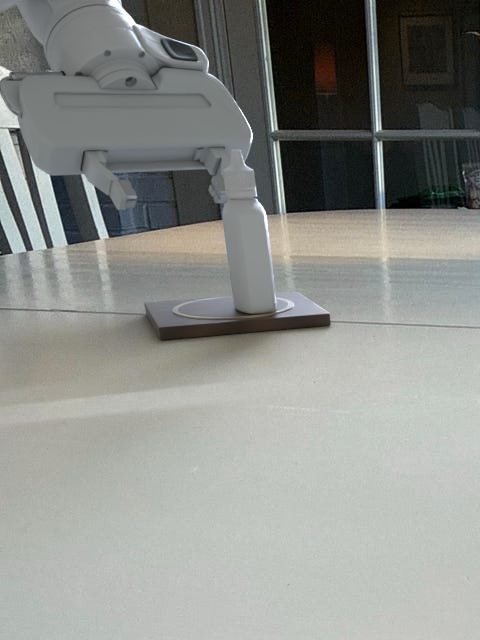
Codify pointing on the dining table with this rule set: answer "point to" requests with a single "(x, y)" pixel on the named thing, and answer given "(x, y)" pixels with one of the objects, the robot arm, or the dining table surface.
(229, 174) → the eye dropper bottle
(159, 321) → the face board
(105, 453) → the dining table surface
